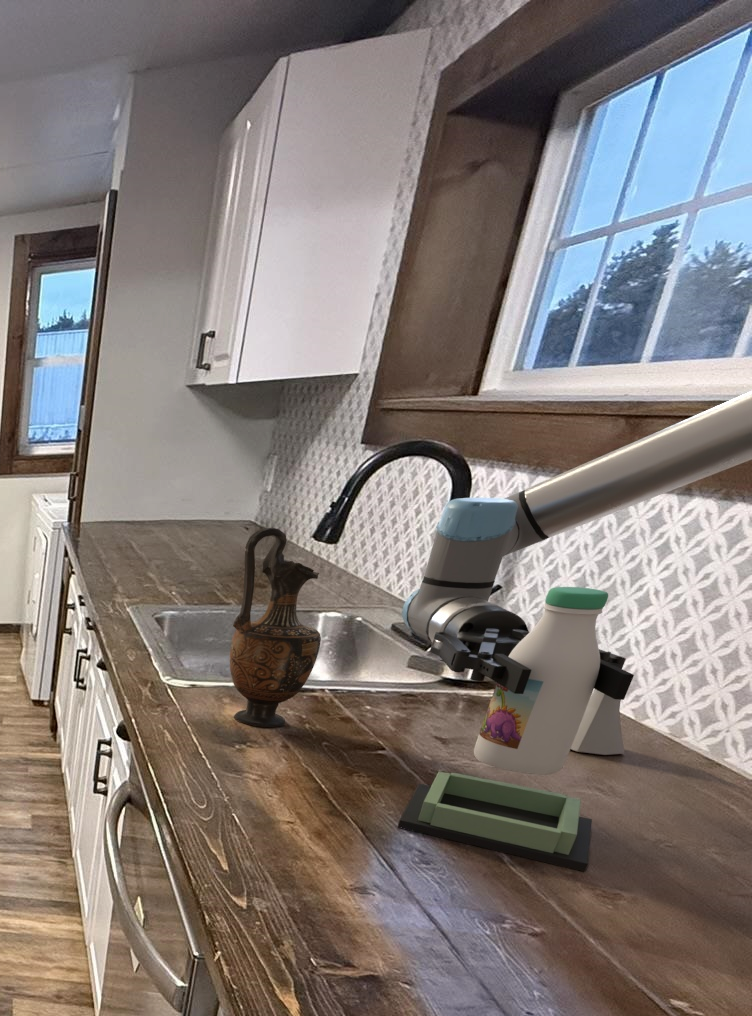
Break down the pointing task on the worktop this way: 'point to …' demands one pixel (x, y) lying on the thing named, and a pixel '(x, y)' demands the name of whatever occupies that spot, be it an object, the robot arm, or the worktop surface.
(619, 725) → the flask
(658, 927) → the worktop surface
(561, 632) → the milk bottle
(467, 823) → the docking pad
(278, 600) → the vase
